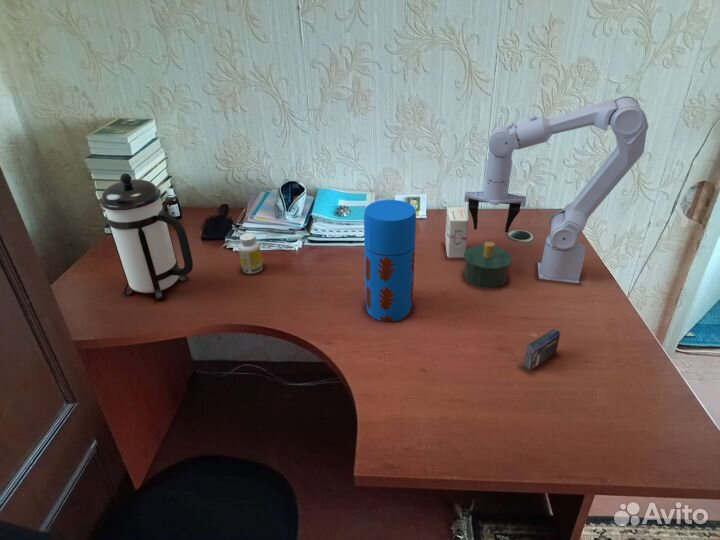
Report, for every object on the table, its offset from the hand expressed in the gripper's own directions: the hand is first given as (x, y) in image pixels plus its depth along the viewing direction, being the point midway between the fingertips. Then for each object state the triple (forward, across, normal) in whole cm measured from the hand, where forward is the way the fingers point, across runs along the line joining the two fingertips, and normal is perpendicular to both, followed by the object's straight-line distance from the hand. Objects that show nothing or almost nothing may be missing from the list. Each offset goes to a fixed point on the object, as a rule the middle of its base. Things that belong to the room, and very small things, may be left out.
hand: (490, 229), depth 126 cm
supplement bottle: (+11, -60, -16) cm, 63 cm away
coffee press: (+11, -79, -29) cm, 85 cm away
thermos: (+11, -21, -25) cm, 34 cm away
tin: (+10, 0, -7) cm, 13 cm away
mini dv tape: (+11, +12, -36) cm, 39 cm away
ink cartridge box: (+11, -9, +5) cm, 15 cm away
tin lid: (+4, 0, -7) cm, 8 cm away
